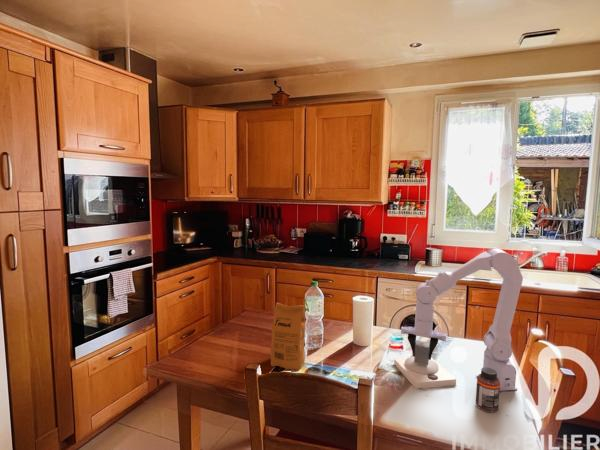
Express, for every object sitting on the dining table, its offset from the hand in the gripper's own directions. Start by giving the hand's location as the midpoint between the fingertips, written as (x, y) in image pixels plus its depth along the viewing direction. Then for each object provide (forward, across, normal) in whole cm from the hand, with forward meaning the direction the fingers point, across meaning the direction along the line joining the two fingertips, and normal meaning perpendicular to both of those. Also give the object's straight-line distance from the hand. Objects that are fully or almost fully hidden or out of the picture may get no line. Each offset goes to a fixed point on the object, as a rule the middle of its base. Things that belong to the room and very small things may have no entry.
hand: (421, 356), depth 123 cm
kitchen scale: (+5, -1, +1) cm, 6 cm away
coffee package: (+6, +44, +15) cm, 47 cm away
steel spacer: (+1, 0, 0) cm, 1 cm away
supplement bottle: (+6, -20, +13) cm, 24 cm away
